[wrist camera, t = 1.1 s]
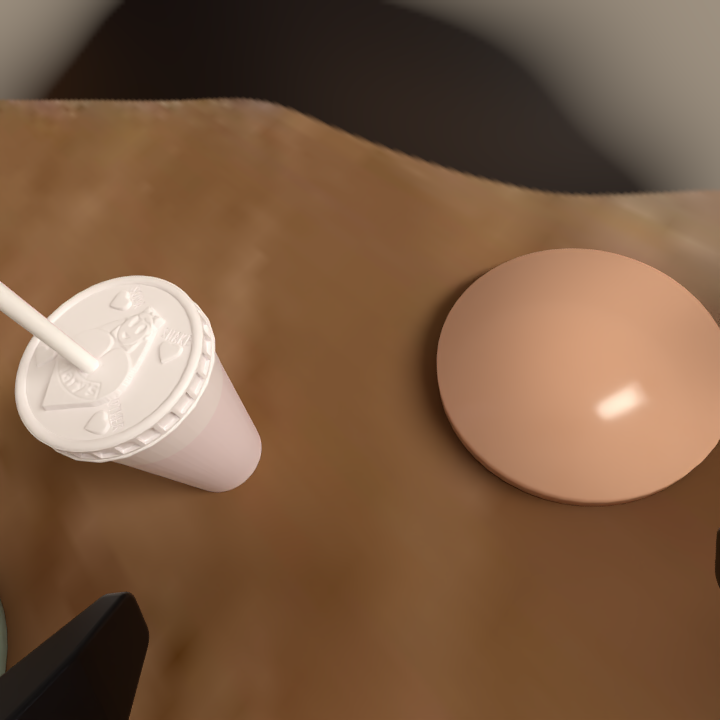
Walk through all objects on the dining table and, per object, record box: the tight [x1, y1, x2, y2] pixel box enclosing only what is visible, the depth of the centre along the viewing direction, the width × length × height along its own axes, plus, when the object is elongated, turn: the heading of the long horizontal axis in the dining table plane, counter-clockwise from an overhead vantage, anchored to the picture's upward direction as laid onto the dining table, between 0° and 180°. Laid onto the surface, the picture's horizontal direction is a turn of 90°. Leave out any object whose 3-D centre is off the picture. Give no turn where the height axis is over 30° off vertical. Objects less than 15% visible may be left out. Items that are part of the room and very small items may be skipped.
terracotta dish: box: [437, 248, 720, 506], centre depth 24 cm, size 12×12×1 cm
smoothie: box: [0, 276, 261, 492], centre depth 20 cm, size 6×6×14 cm
